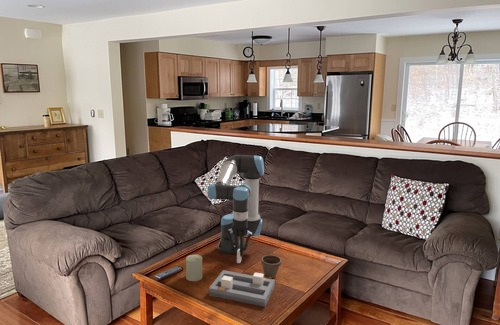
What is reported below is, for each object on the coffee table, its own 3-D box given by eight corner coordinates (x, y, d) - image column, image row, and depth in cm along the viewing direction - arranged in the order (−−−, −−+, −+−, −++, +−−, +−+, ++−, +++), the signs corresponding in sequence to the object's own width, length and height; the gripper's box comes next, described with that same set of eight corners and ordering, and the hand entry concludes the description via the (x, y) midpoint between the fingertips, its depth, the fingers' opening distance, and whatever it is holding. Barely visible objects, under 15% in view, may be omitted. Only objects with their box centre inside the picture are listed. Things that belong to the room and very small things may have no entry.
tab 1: (223, 285, 197) (224, 275, 196) (232, 287, 196) (233, 277, 195) (221, 289, 194) (221, 279, 192) (230, 291, 192) (230, 280, 191)
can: (194, 283, 203) (194, 262, 201) (182, 277, 209) (182, 257, 206) (205, 276, 210) (206, 257, 208) (194, 271, 216) (194, 252, 213)
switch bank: (223, 276, 211) (223, 269, 210) (274, 286, 202) (274, 279, 202) (208, 295, 192) (209, 287, 191) (265, 306, 184) (265, 299, 183)
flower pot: (284, 278, 212) (285, 261, 210) (266, 282, 207) (267, 265, 205) (273, 269, 222) (274, 253, 220) (257, 272, 217) (257, 256, 215)
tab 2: (254, 282, 202) (255, 272, 200) (263, 284, 200) (264, 273, 199) (252, 286, 198) (252, 275, 197) (261, 287, 196) (262, 277, 195)
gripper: (225, 219, 183) (224, 263, 188) (250, 222, 179) (249, 267, 185) (230, 214, 190) (229, 256, 195) (254, 217, 186) (253, 260, 192)
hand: (239, 261), depth 190 cm, fingers closed
